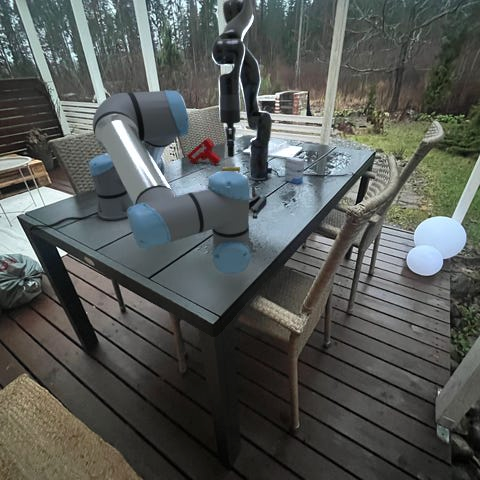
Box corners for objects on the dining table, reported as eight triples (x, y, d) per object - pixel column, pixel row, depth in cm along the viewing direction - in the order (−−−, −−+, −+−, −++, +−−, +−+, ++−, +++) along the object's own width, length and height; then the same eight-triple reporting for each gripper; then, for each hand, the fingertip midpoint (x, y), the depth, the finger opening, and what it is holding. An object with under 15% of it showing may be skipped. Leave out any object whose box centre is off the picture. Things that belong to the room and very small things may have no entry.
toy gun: (223, 158, 167) (209, 137, 163) (221, 160, 164) (206, 138, 160) (204, 173, 177) (189, 154, 173) (201, 175, 174) (186, 155, 170)
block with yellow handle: (220, 184, 116) (219, 164, 112) (242, 183, 116) (242, 164, 112) (219, 196, 105) (218, 175, 100) (243, 196, 105) (243, 175, 100)
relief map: (291, 159, 177) (291, 151, 174) (243, 153, 190) (243, 145, 187) (302, 149, 197) (303, 142, 194) (258, 144, 211) (258, 137, 208)
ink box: (302, 181, 142) (305, 159, 136) (297, 184, 139) (300, 161, 133) (289, 177, 147) (291, 156, 141) (284, 180, 144) (285, 158, 138)
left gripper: (181, 238, 68) (191, 202, 85) (281, 236, 68) (270, 201, 86) (177, 211, 64) (189, 179, 81) (283, 209, 64) (271, 178, 82)
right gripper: (220, 105, 103) (221, 149, 112) (218, 110, 91) (220, 159, 100) (239, 105, 103) (240, 148, 112) (240, 110, 91) (241, 158, 100)
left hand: (231, 190), depth 84 cm, fingers open, 13 cm apart
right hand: (230, 153), depth 106 cm, fingers open, 8 cm apart
